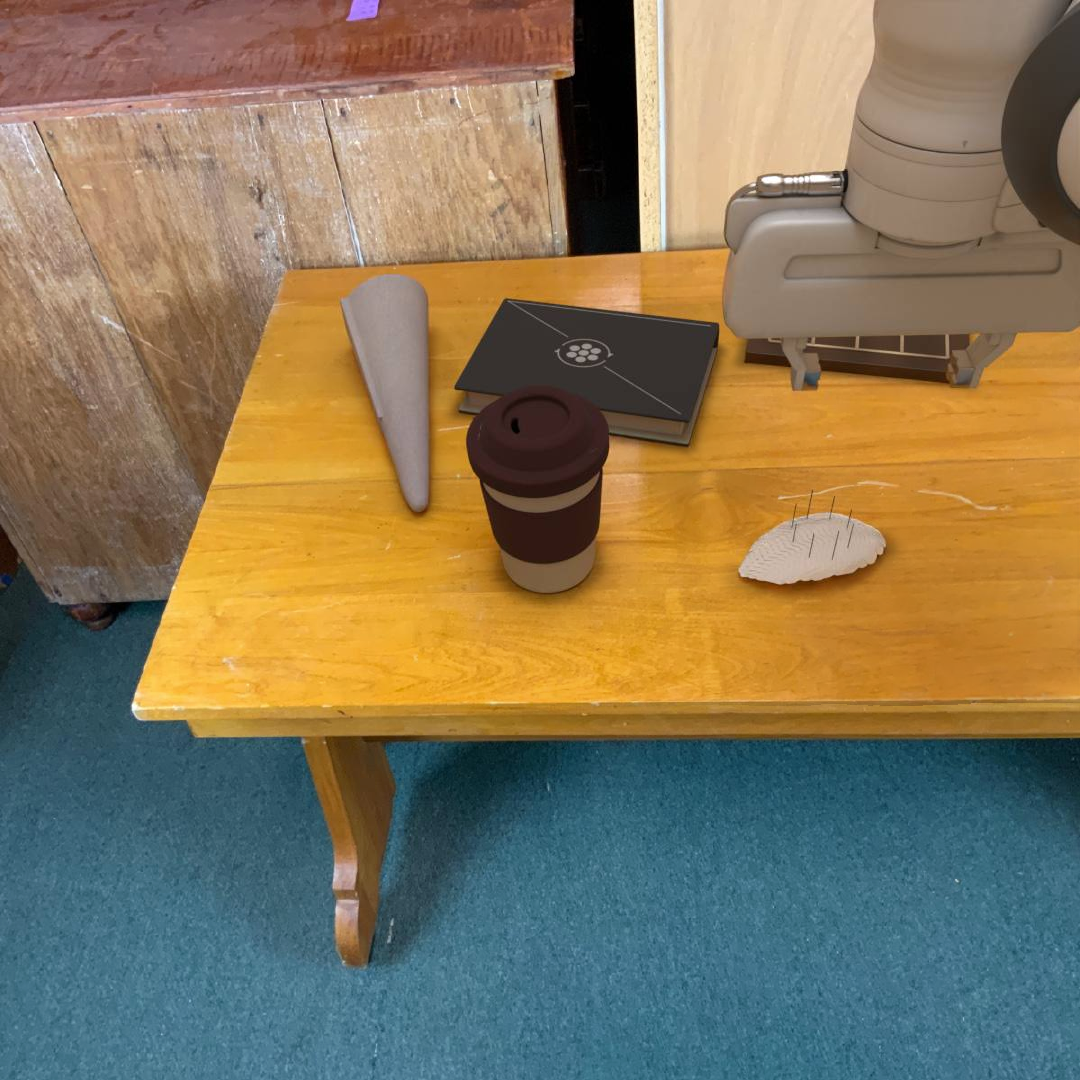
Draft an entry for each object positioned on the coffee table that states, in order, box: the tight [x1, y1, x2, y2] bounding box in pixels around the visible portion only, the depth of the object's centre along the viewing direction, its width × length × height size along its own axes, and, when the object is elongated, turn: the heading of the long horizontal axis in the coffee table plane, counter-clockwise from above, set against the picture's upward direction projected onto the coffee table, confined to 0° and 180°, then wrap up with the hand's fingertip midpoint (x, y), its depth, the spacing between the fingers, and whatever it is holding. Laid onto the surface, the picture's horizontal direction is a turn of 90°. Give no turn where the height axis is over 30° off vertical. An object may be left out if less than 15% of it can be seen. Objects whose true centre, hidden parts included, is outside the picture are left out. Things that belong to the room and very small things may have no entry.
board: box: [744, 334, 971, 384], centre depth 95 cm, size 20×20×1 cm
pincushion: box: [737, 489, 888, 586], centre depth 72 cm, size 12×6×6 cm, turn 104°
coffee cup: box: [465, 385, 610, 594], centre depth 70 cm, size 10×10×15 cm
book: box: [453, 297, 720, 447], centre depth 90 cm, size 22×15×3 cm
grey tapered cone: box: [339, 273, 431, 513], centre depth 87 cm, size 8×9×26 cm
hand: (881, 383), depth 59 cm, fingers open, 8 cm apart
